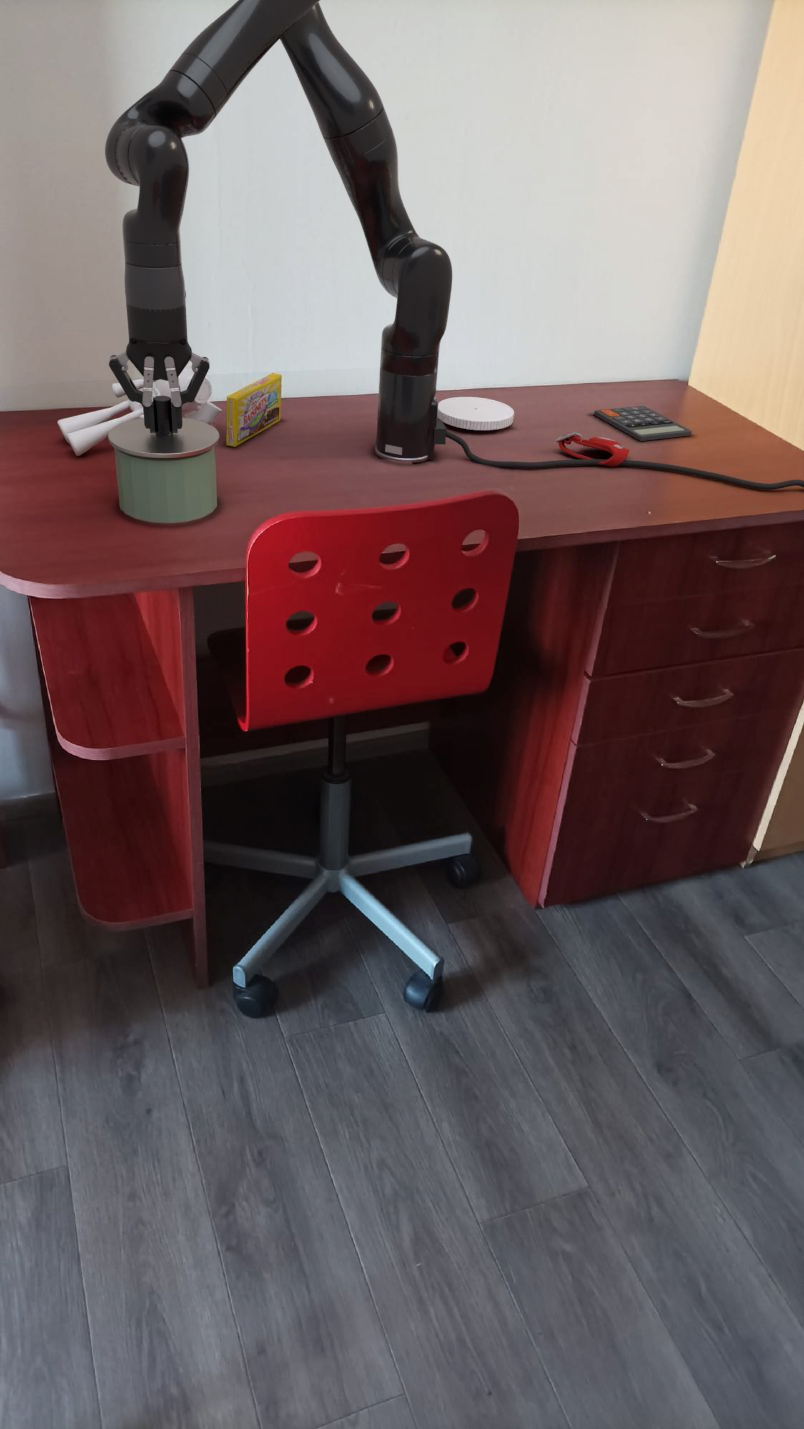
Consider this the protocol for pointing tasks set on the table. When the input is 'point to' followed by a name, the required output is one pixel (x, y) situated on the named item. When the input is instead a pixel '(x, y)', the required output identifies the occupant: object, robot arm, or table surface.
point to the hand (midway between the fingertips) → (164, 430)
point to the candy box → (253, 409)
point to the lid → (163, 435)
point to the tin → (167, 486)
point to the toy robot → (94, 429)
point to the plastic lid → (475, 413)
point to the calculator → (642, 423)
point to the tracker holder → (597, 443)
